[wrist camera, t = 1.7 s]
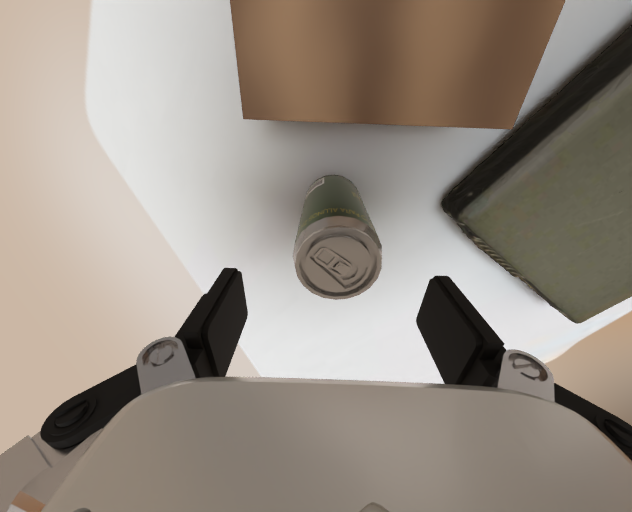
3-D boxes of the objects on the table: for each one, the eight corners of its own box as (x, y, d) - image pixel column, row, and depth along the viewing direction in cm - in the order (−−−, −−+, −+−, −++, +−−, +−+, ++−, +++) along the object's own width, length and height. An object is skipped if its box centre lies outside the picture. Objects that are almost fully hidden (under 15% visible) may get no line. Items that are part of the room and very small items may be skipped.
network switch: (416, 221, 25) (435, 243, 20) (685, -94, 14) (848, -188, 10) (554, 305, 30) (593, 336, 26) (827, 124, 19) (972, 127, 15)
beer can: (295, 205, 24) (273, 273, 14) (327, 161, 21) (330, 202, 11) (335, 234, 25) (343, 314, 15) (370, 196, 23) (406, 259, 13)
